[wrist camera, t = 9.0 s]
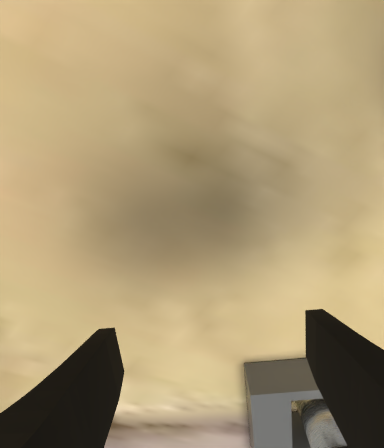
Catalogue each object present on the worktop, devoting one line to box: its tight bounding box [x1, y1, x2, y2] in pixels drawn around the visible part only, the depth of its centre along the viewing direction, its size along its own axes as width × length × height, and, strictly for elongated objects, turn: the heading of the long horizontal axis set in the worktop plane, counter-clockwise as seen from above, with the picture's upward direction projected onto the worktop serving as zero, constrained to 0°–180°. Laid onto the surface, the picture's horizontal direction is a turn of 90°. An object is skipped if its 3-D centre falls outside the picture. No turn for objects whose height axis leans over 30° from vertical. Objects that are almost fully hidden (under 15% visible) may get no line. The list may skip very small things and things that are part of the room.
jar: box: [294, 399, 348, 448], centre depth 21 cm, size 3×3×7 cm
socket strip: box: [244, 358, 323, 448], centre depth 24 cm, size 10×12×3 cm
